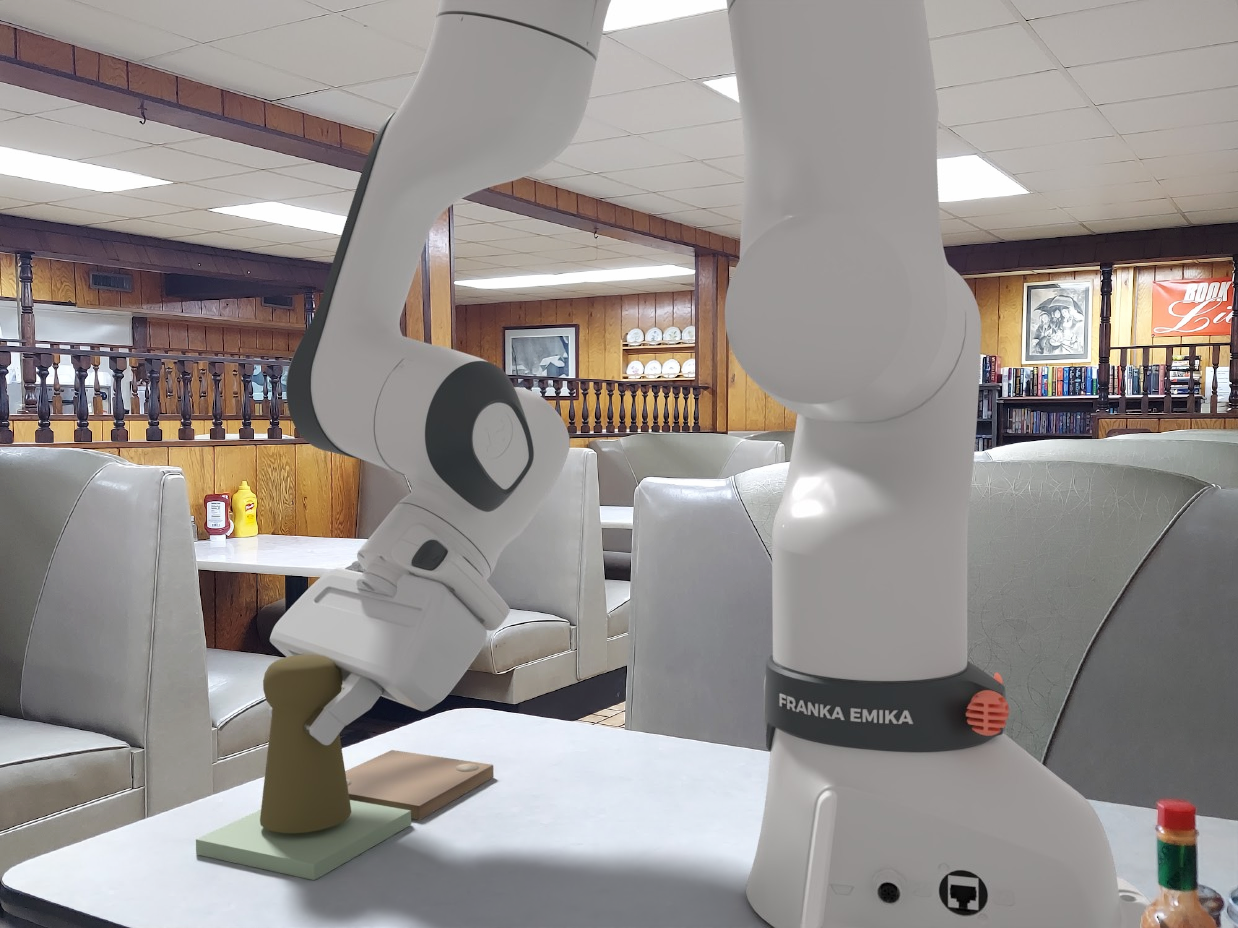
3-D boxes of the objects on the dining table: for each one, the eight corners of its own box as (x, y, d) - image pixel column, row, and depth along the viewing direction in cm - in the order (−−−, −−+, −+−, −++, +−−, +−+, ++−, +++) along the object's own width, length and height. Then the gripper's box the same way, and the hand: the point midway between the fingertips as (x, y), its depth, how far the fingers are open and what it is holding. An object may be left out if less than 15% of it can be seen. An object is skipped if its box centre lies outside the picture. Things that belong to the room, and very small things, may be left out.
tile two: (493, 776, 84) (493, 763, 84) (419, 819, 75) (419, 804, 75) (392, 761, 88) (392, 749, 88) (310, 799, 79) (310, 786, 79)
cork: (363, 800, 75) (360, 647, 74) (333, 834, 69) (329, 667, 68) (281, 799, 75) (278, 647, 75) (244, 831, 69) (240, 666, 69)
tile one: (411, 824, 74) (410, 809, 74) (314, 879, 65) (313, 863, 65) (301, 804, 78) (301, 790, 78) (196, 853, 69) (195, 838, 69)
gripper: (325, 534, 83) (204, 676, 77) (469, 556, 68) (334, 735, 62) (376, 583, 87) (264, 723, 80) (525, 616, 71) (401, 791, 65)
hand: (295, 729), depth 71 cm, fingers closed on cork, 4 cm apart
